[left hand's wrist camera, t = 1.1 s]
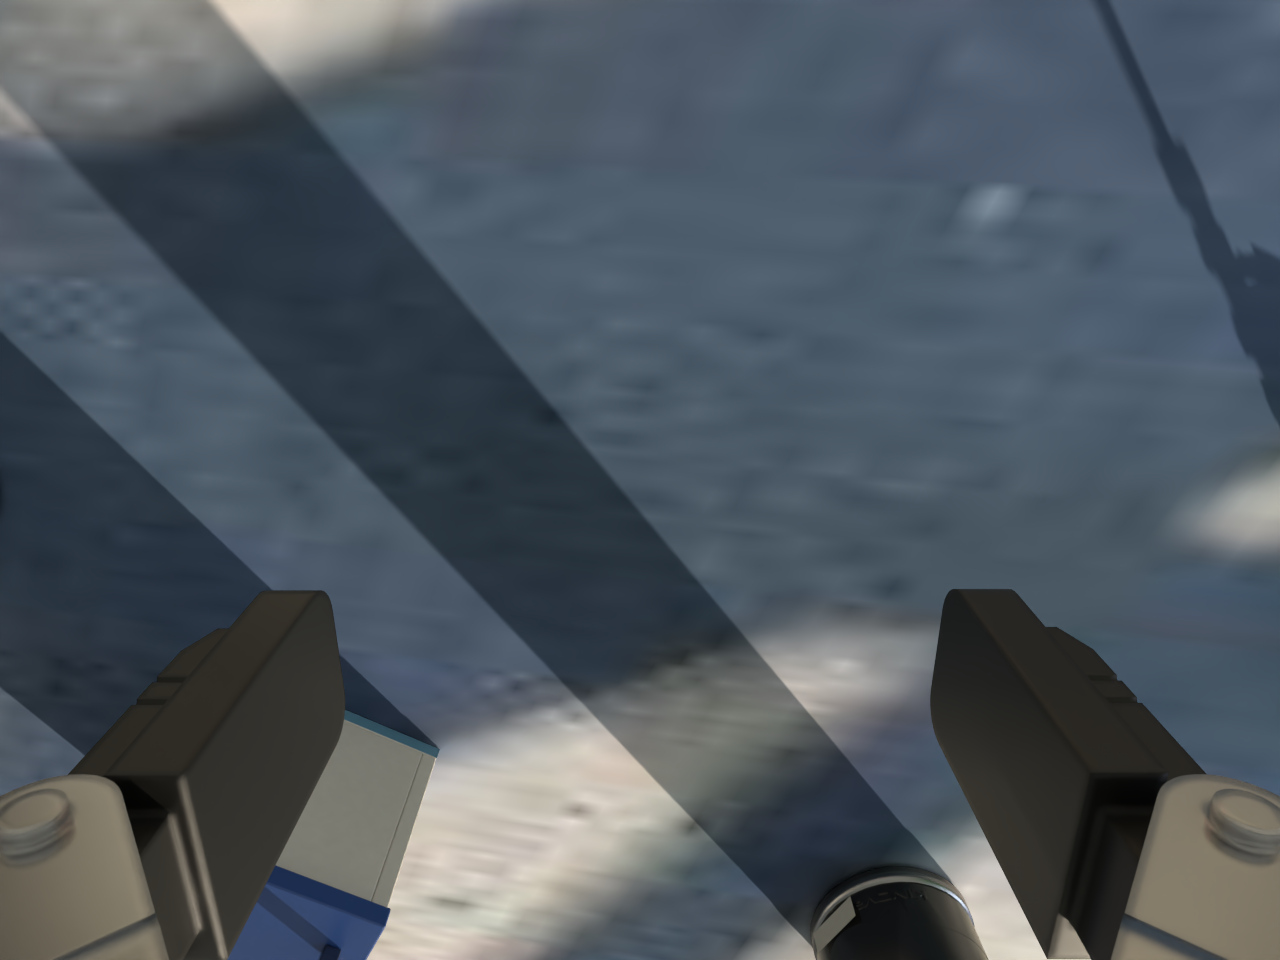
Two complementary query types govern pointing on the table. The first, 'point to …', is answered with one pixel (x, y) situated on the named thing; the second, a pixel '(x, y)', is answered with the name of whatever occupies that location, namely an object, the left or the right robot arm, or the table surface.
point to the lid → (309, 922)
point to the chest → (362, 811)
